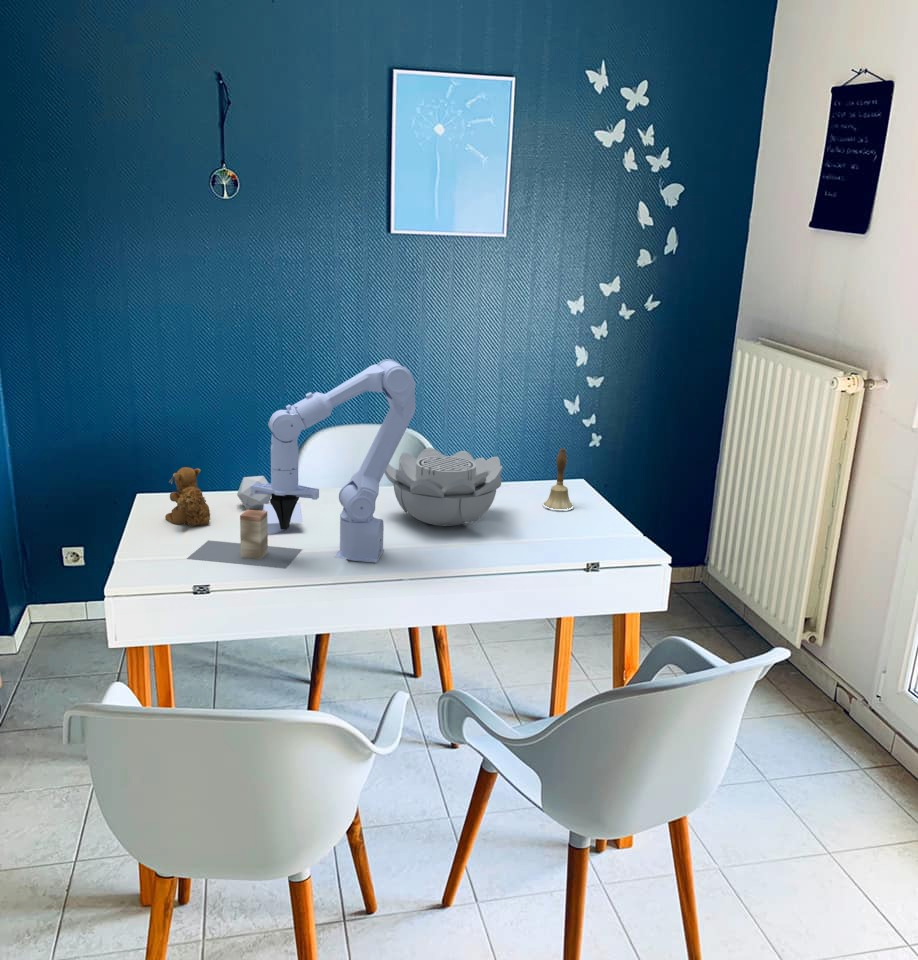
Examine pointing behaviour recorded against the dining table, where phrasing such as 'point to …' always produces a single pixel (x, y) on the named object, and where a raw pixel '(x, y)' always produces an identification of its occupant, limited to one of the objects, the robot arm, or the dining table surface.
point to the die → (252, 499)
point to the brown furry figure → (188, 500)
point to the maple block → (254, 534)
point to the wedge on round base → (273, 519)
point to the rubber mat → (232, 554)
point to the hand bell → (559, 486)
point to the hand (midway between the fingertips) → (285, 528)
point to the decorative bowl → (445, 486)
